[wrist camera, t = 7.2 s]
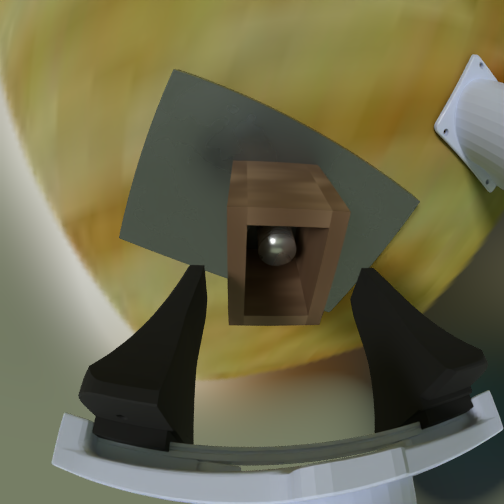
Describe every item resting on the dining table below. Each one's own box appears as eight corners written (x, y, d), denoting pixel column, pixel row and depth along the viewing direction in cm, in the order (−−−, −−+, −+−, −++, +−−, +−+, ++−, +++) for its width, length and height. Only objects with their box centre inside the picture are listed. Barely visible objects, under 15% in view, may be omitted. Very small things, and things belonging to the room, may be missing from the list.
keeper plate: (412, 194, 18) (447, 230, 14) (326, 302, 24) (338, 347, 20) (178, 69, 13) (152, 68, 9) (124, 229, 19) (98, 272, 15)
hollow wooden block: (317, 165, 16) (350, 212, 11) (302, 259, 20) (319, 324, 15) (233, 160, 16) (226, 206, 11) (232, 258, 20) (228, 324, 15)
